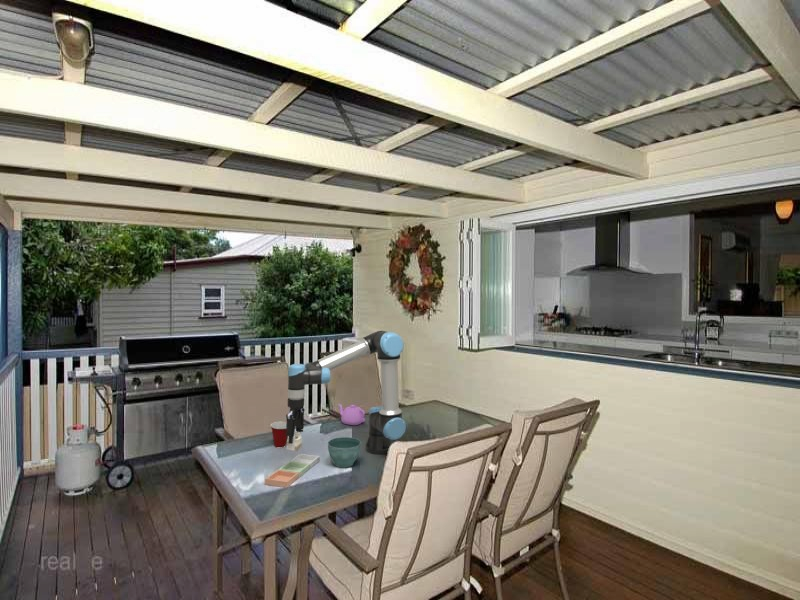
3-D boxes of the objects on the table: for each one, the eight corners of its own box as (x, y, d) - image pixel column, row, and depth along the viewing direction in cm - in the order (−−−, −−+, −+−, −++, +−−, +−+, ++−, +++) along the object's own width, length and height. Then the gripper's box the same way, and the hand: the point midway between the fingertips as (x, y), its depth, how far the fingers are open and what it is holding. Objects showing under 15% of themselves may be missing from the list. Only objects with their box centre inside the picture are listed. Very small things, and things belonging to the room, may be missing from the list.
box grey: (319, 461, 225) (319, 456, 225) (310, 469, 215) (310, 463, 215) (300, 458, 228) (300, 453, 228) (289, 466, 217) (290, 461, 217)
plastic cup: (278, 451, 238) (278, 428, 238) (265, 446, 244) (266, 424, 244) (294, 445, 246) (295, 423, 246) (282, 441, 253) (282, 420, 253)
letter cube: (301, 447, 212) (302, 436, 212) (296, 451, 207) (296, 439, 207) (292, 446, 213) (292, 435, 214) (286, 449, 209) (287, 438, 209)
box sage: (309, 469, 214) (309, 464, 214) (299, 478, 204) (299, 472, 204) (289, 466, 217) (289, 461, 217) (278, 474, 207) (278, 469, 207)
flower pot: (346, 473, 211) (346, 450, 211) (320, 465, 219) (320, 443, 219) (366, 463, 224) (367, 441, 224) (341, 456, 233) (341, 435, 233)
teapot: (369, 422, 295) (370, 404, 295) (360, 428, 282) (360, 409, 282) (342, 418, 302) (343, 401, 302) (332, 423, 290) (332, 405, 290)
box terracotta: (298, 478, 204) (298, 472, 204) (286, 487, 193) (287, 482, 193) (277, 475, 206) (277, 469, 206) (264, 484, 196) (265, 478, 196)
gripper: (297, 393, 220) (296, 441, 220) (278, 401, 202) (277, 453, 203) (312, 394, 218) (310, 442, 218) (293, 403, 200) (292, 455, 201)
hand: (294, 447), depth 210 cm, fingers closed on letter cube, 5 cm apart
